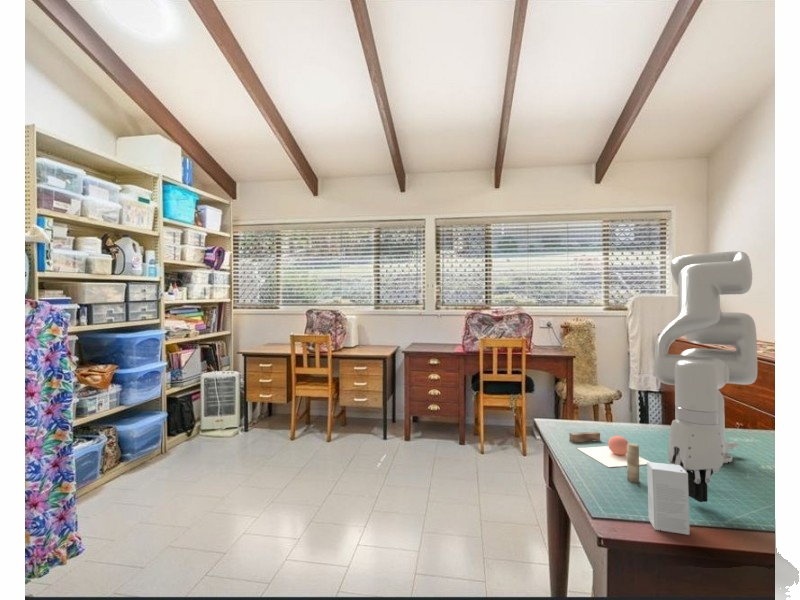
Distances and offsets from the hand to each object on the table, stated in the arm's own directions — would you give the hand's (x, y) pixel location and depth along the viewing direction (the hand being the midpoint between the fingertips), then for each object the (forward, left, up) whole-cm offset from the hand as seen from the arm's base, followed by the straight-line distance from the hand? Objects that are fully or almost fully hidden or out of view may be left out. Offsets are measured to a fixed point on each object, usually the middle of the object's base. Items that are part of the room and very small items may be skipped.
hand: (697, 498), depth 84 cm
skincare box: (+14, +6, -2) cm, 15 cm away
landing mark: (-2, -28, -2) cm, 28 cm away
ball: (-4, -29, +1) cm, 29 cm away
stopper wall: (-2, -41, -2) cm, 41 cm away
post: (+5, -13, -2) cm, 14 cm away
